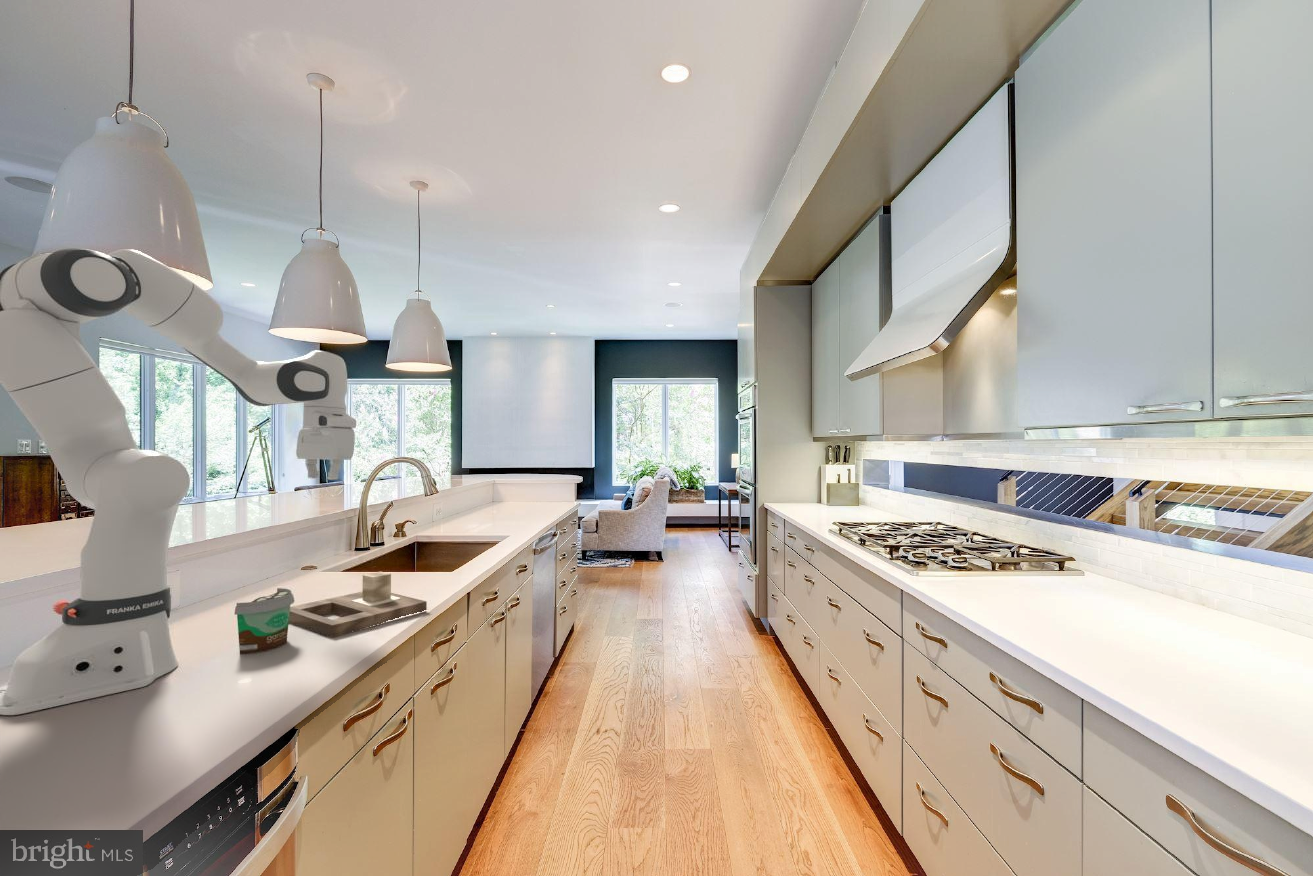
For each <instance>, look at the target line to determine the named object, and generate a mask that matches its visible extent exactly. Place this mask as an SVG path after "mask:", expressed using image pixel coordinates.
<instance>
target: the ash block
mask: <svg viewBox="0 0 1313 876" xmlns="http://www.w3.org/2000/svg"><path fill="white" fill-rule="evenodd" d="M362 591H363V596H362V600H364V601H368V602H371V603H375V602H379V601H383V600H387V599H391V593H392V574H391V573H388V572H383V571H377V572H371V573H366V574H362Z"/></svg>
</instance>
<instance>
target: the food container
mask: <svg viewBox="0 0 1313 876" xmlns="http://www.w3.org/2000/svg"><path fill="white" fill-rule="evenodd" d="M294 603H295V597H294V594H293V592H292V590H291V589H289V588H284V587H282V588H281V587H280V588H279V587H277V588H276V592H275V593H272V594H270V595H267V596H260V597H257V598H256V599H254V600H252V601H251V602H250V601H249V602H236V606H235V607H234V608H235V609H234V615H236V620H237V632H238V633H237V634H238V647H239V649H238V650H239V655H250V653H251V654H258V653H262V652H263V653H264V652H267V651H272V650H275V649H277V648H281V647H282V646H284V645H286V643H287V641H288V634H289V633H288V632H289V623H290V622H289V614H290V607H291V605H293V604H294ZM257 652H258V653H257Z"/></svg>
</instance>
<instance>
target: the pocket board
mask: <svg viewBox="0 0 1313 876" xmlns="http://www.w3.org/2000/svg"><path fill="white" fill-rule="evenodd" d="M362 596H363V590H362V591H358V592H353V593H349V594H344V595H339V596H335V597H330V598H324V599H322V600H321V599H320V600H316V601H312V602H307V603H302V604H298V605H293V606H290V614H289V623H291V624H294V625H296V626H298V627H302V628H305V629H307V630H311V631H312V632H316V633H319V634H321V635H323V636H324V635H325V636H327V637H330V638H336V637H340V636H342V635H343V636H344V635H347V634H350V632H351V633H353V632H352V631H354V632H358V631H361V630H360V629H362V630H365V629H367V628H366V627H369V628H371V627H370V626H373V625H376V626H378V625H377V624H380V625H382V624H381V623H383V622H386V621H388V620H393V619H395V618H399V617H401V616H406V615H409V614H414V613H417V612H422V611H424V610H427V609H428V607H427V604H428V603H427V600H422V599H418V598H414V597H412V596H406V595H402V594H398V593H394V592H393V593H392V592H391V599H387V600H383V601H379V602H375V603H371V602H368V601H364V600H362ZM328 614H333V615H334V614H335V615H338V616H340V617H337V618H334V619H331V618H328V617H325V616H324V615H328ZM343 616H344V617H343ZM373 627H374V626H373ZM364 628H365V629H364ZM346 633H347V634H346ZM339 635H340V636H339Z"/></svg>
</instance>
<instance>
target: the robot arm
mask: <svg viewBox="0 0 1313 876" xmlns="http://www.w3.org/2000/svg"><path fill="white" fill-rule="evenodd" d="M119 311H121V312H123V313H126V314H128V315H131V316H133V317H134V318H135V319H136V320H138V321H139V322H141V323H143V324H145V325H146V326H148V327H149V328H151V329H152V330H154V331H156V332H158V333H160V334H161V335H162V336H164V337H166V338H167V339H169V340H170V341H173V342H174V343H176V344H177V345H178V346H180V347H181V348H182V349H183V350H185V351H186V352H187V353H189V354H190V355H192V356H193V357H194V358H196V359H197V360H198V361H200V362H201V363H203V364H204V365H205V366H207V367H209V368H210V369H211V370H213V371H214V372H216V373H217V374H219V375H220V376H222V377H223V378H224V379H226V380H227V381H228V382H229V383H230V384H231V385H232V387H233V388H235V390H236V391H237V393H239V395H240V396H241V397H242V399H244V400H245V401H246V402H248V403H249V404H251V405H254V406H258V407H270V406H275V405H287V404H301V403H302V404H303V410H302V411H303V413H302V417H303V418H302V427H301V429H300V430H299V431H298V435H297V442H296V450H295V451H296V452H295V453H296V457H297V459H298V460H305V461H304V462H305V467H306V470H307V478H308V479H318V478H319V470H318V468H317V465H318V460H329V465H330V467H329V471H327V479H328V480H333V481H334V480H338V479H339V475H340V471H341V468H342V466H343V461H346V460H347V461H349V460H352V458H353V456H354V453H355V444H356V443H355V441H356V439H355V438H356V435H355V434H356V433H355V430H354V429H356V428H357V419H356V418H355V417H352V416H351V415H349V414H348V413H347V405H346V395H347V393H348V371H347V364H346V362H345V361H344V358H342V357H341V356H340V355H338V354H336V353H334V352H330V351H324V350H312V351H310V352H308V353H307V354H304V355H303V356H299V357H296V358H293V359H291V358H290V359H287V360H279V361H270V362H269V361H267V362H266V361H260V360H254V359H251V358H249V356H247V355H245V354H244V353H242V351H240V350H238V349H237V348H236V347H234V346H233V345H232V344H231V343H229V342H228V341H226V340H225V339H224V338H223V337H222V336H221V335H220V334H219V332H220V330H221V328H222V327H223V322H224V313H223V309H222V306H221V305H220V304H219V303H218V302H217V301H216V300H215V298H213V296H211V295H210V294H209V293H208V292H206V291H205V290H204V289H202V288H201V287H200V286H198V285H197V283H194V282H193V281H191V280H190V279H188V278H187V277H186V276H184V275H183V274H180V273H179V272H177V271H176V270H174V269H173V268H171V267H169V266H167V265H166V264H164V263H163V262H161V261H158V260H156V259H155V258H153V257H152V256H150V255H147V254H145V253H143V252H141V251H140V250H139V251H138V250H135V249H131V248H130V249H129V248H125V249H123V248H122V249H118V250H114V251H112V252H109V253H107V254H105V253H103V252H99V251H96V250H92V249H86V248H77V247H76V248H64V249H59V250H56V251H54V252H49V253H41V254H36V255H32V256H29V257H27V258H25V259H22V260H21V261H19V262H16V263H14V264H11V265H9V266H7V267H5V268H4V269H2V270H1V271H0V384H1V386H2V388H3V389H4V390H5V391H6V392H7V394H8V395H9V397H10V398H11V399H12V400H13V402H14V403H15V405H16V406H17V407H18V408H19V410H20V412H21V413H22V414H23V415H24V417H25V418H26V419H27V420H28V421H29V423H30V425H31V426H32V427H33V428H34V430H35V431H36V433H37V434H38V435H39V437H40V439H41V440H42V442H43V444H44V445H45V447H46V449H47V452H48V453H49V455H50V457H51V459H52V462H53V464H54V466H55V467H56V469H57V471H58V472H59V474H60V477H61V478H62V479H63V481H64V484H65V488H66V491H67V493H69V495H70V496H71V497H72V498H73V499H75V501H77V502H78V503H80V504H81V505H82V506H84V507H85V508H86V507H87V508H88V509H92V510H94V516H93V520H92V523H91V527H90V531H89V533H88V537H87V539H86V543H85V545H84V546H83V547H82V549H81V552H80V581H79V583H80V584H79V586H80V587H79V597H78V598H76V599H74V600H73V601H71V602H69V601H67V600H59V601H57V602H55V604H54V605H53V607H52V611H53V612H55V613H56V614H58V615H61V616H62V617H61V618H62V619H61V621H62V622H61V623H63V624H61V625H60V626H58V627H57V628H55V629H54V630H52V631H50V633H48V634H47V635H45V636H44V637H43V638H41V639H40V640H38V641H37V642H35V643H34V644H33V645H31V646H29V647H28V648H26V649H25V650H23V651H22V652H20V654H18V656H17V657H16V659H15V660H14V662H13V665H12V666H11V669H10V673H9V677H8V681H7V684H6V685H2V686H0V715H2V716H15V715H22V714H27V713H32V712H36V711H41V710H43V709H48V708H49V709H50V708H53V707H58V706H63V705H67V704H72V703H76V702H81V701H85V700H90V699H94V698H99V697H103V696H108V695H113V694H116V693H121V692H125V691H130V690H131V691H132V690H134V689H138V688H143V687H146V686H148V685H150V684H152V683H153V682H154V680H156V679H158V678H159V677H162V676H164V675H165V674H168V673H169V672H172V671H173V670H174V669H176V668H177V666H178V664H179V661H178V660H177V657H176V654H175V652H174V649H173V644H172V639H171V638H172V637H171V633H170V627H169V625H170V624H169V618H170V617H171V611H172V594H171V588H170V587H169V586H168V563H169V561H168V559H169V558H168V557H169V544H170V538H171V534H172V531H173V526H174V523H175V519H176V515H177V512H178V510H179V509H178V508H179V505H180V503H181V502H182V500H183V499H184V498H185V497H186V495H187V493H188V491H189V488H190V485H191V484H190V483H191V481H190V480H191V478H190V474H189V471H188V469H187V468H186V467H185V466H184V464H183V463H181V462H180V461H178V460H177V459H176V458H174V457H172V456H171V455H168V454H165V453H163V452H161V451H157V450H152V449H140V447H138V445H137V443H136V441H135V440H134V438H133V435H132V433H131V430H130V427H129V425H128V421H127V418H126V417H127V415H126V413H127V412H126V411H127V409H126V407H125V405H124V404H123V403H122V401H121V399H120V398H119V396H118V395H117V393H116V392H115V390H114V389H113V387H112V386H111V384H110V383H109V382H108V380H107V378H106V377H105V376H104V374H103V373H102V370H101V369H100V368H99V366H98V365H97V364H96V362H95V361H94V359H93V358H92V357H91V355H90V354H89V353H88V352H87V350H86V349H85V348H84V344H83V342H82V339H81V335H80V326H81V324H84V323H88V322H92V321H94V320H98V319H100V318H102V317H106V316H107V317H108V316H110V315H113V314H116V313H118V312H119Z"/></svg>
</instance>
